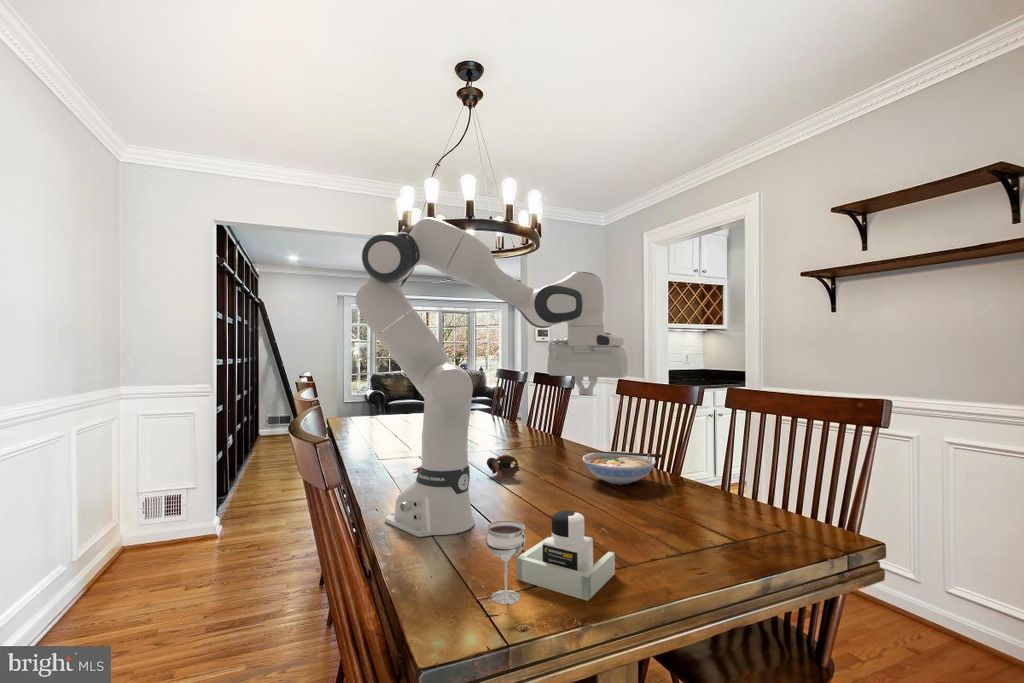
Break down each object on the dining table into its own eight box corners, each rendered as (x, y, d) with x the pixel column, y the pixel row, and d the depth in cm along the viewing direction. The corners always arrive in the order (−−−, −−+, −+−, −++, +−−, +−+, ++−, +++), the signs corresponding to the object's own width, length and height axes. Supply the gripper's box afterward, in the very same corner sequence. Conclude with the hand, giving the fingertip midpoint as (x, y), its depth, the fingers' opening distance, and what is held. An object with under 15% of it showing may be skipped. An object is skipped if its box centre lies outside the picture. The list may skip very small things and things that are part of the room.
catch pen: (516, 579, 93) (516, 557, 93) (548, 556, 103) (548, 536, 103) (587, 601, 85) (587, 577, 85) (614, 574, 95) (614, 552, 95)
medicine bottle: (541, 581, 92) (541, 515, 92) (559, 566, 98) (559, 505, 98) (577, 591, 88) (577, 523, 88) (593, 575, 94) (593, 511, 94)
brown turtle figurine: (523, 475, 168) (524, 457, 164) (511, 495, 161) (512, 476, 156) (491, 463, 172) (492, 445, 168) (478, 481, 165) (478, 463, 161)
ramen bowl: (570, 487, 153) (570, 460, 153) (588, 470, 174) (588, 446, 174) (654, 496, 143) (654, 467, 143) (663, 477, 164) (663, 452, 164)
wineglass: (517, 610, 82) (517, 536, 82) (479, 602, 84) (479, 531, 84) (531, 591, 88) (530, 523, 88) (495, 584, 90) (495, 518, 91)
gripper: (542, 339, 126) (542, 394, 125) (620, 338, 114) (620, 398, 114) (554, 339, 131) (554, 392, 131) (630, 338, 119) (630, 396, 119)
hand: (585, 395), depth 122 cm, fingers closed
